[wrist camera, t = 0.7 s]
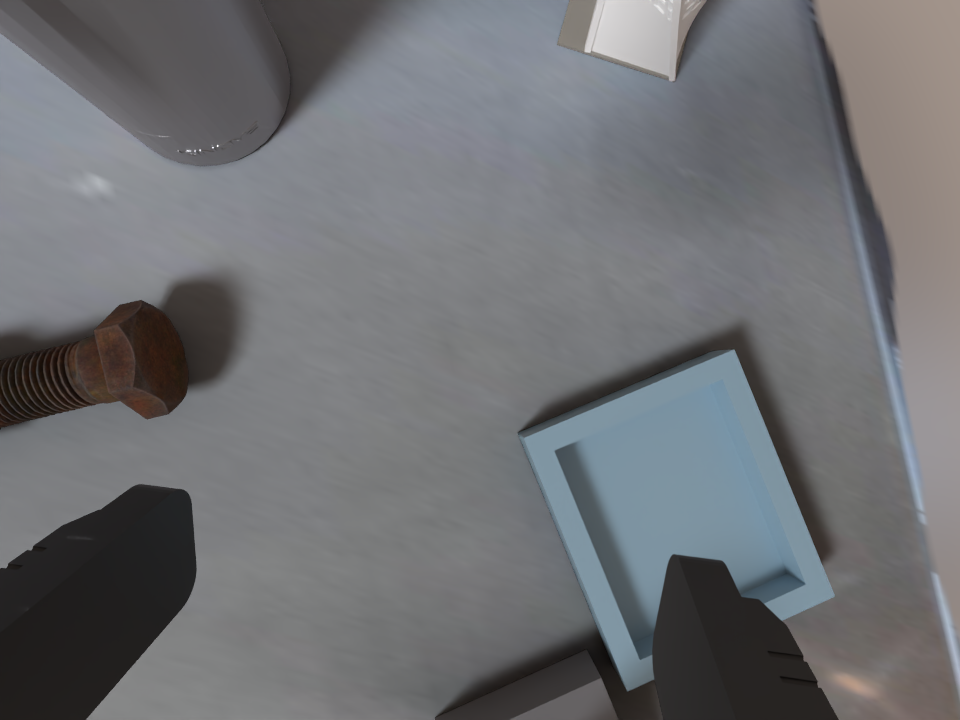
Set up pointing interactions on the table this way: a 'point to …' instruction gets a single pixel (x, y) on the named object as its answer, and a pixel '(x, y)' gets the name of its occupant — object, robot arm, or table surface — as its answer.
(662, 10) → the skyscraper
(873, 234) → the table surface
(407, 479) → the table surface
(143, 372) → the bolt
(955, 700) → the table surface
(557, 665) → the fuse holder
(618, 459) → the tray
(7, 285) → the table surface
